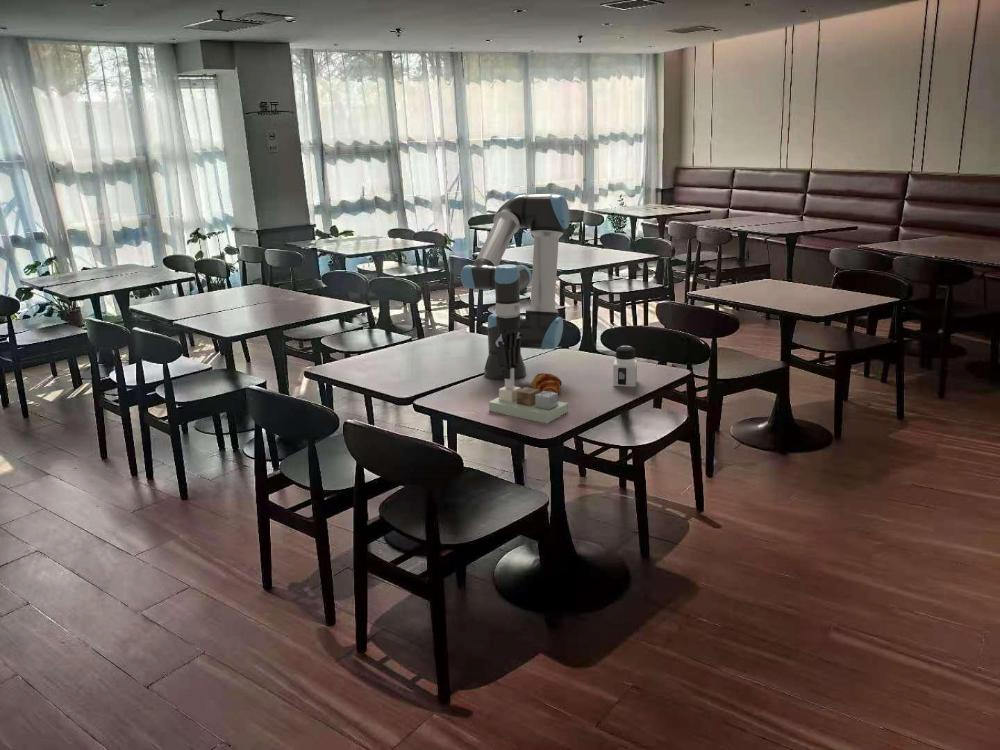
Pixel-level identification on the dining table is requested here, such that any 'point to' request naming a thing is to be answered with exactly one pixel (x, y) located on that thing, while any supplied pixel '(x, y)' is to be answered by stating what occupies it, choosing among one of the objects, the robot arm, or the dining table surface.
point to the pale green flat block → (528, 410)
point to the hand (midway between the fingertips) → (509, 387)
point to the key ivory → (508, 394)
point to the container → (625, 367)
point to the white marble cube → (546, 400)
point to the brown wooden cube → (527, 396)
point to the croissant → (546, 383)
